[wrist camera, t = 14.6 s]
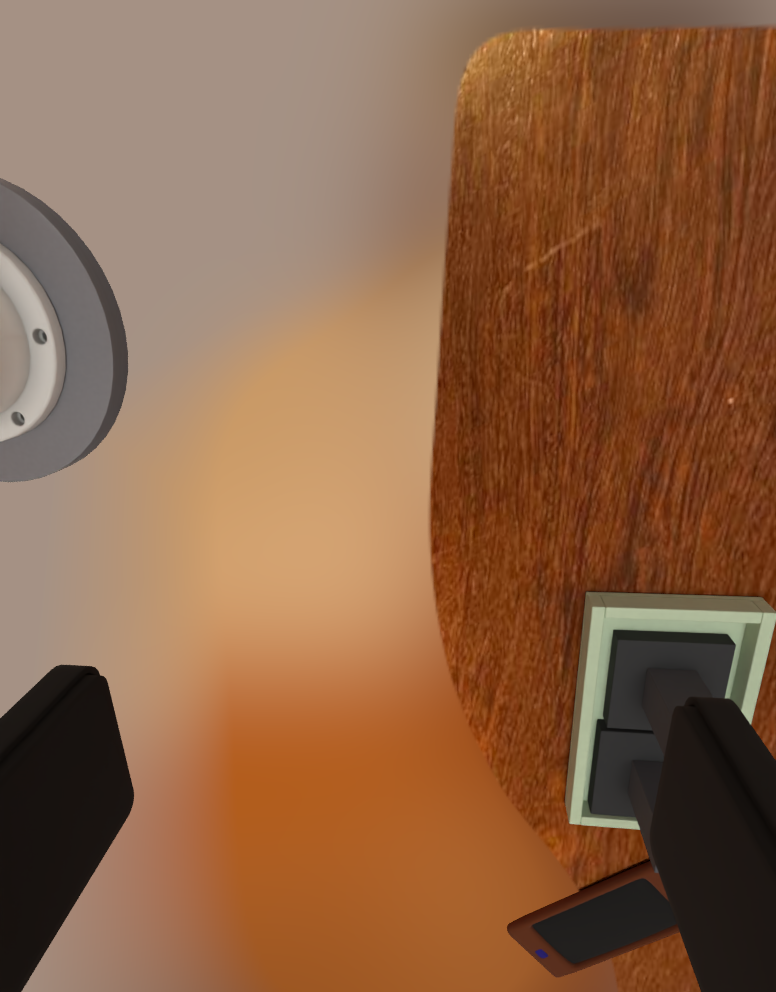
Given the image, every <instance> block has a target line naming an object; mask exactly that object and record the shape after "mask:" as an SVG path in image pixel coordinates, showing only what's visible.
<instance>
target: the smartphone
mask: <svg viewBox="0 0 776 992" xmlns="http://www.w3.org/2000/svg"><path fill="white" fill-rule="evenodd" d="M507 931H508V933H509V934H510V935H511V937H512V938H514V939H515V940H516V941H517V942H518V943H519V944H520V945H521V946H522V947H523V948H524V949H525V950H527V951H528V952H529V953H530V954H531V955H532V956H533V957H534V958H535V959H536V960H537V961H538V962H540V963H541V964H542V965H543V966H544V967H545V968H546V969H547V970H548V971H549V972H550V973H551V974H552V975H554V976H555V977H561V976H564V975H568V974H571V973H574V972H577V971H579V970H582V969H585V968H587V967H590V966H592V965H595V964H597V963H600V962H603V961H605V960H608V959H610V958H613V957H616V956H618V955H621V954H623V953H626V952H629V951H631V950H634V949H636V948H639V947H642V946H644V945H647V944H649V943H652V942H655V941H657V940H660V939H662V938H665V937H668V936H670V935H673V934H675V933H678V932H680V931H679V928H678V925H677V923H676V920H675V917H674V914H673V911H672V909H671V906H670V903H669V900H668V897H667V895H666V892H665V889H664V886H663V884H662V881H661V878H660V875H659V873H655V872H654V870H653V867H652V864H651V861H649V862H646V863H644V864H641V865H639V866H636V867H634V868H632V869H629V870H627V871H625V872H623V873H620V874H618V875H616V876H614V877H611V878H609V879H607V880H604V881H602V882H600V883H598V884H595V885H593V886H591V887H589V888H586V889H584V890H582V891H579V892H577V893H575V894H573V895H571V896H568V897H566V898H564V899H561V900H559V901H557V902H555V903H552V904H550V905H548V906H545V907H543V908H541V909H539V910H536V911H534V912H532V913H529V914H527V915H525V916H523V917H521V918H519V919H517V920H515V921H513V922H511V923H509V924H508V926H507Z"/></svg>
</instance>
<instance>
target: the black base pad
mask: <svg viewBox="0 0 776 992" xmlns="http://www.w3.org/2000/svg"><path fill="white" fill-rule="evenodd" d="M663 761H664V755H663V753H662V751H661V748H660V746H659V744H658V741H657V739H656V737H655V735H654V732H653V730H637V729H620V728H607V726H606V723H605V720H604V719H597V724H596V733H595V741H594V750H593V758H592V766H591V775H590V783H589V791H588V800H587V801H588V805H589V809H590V813H591V814H599V815H612V816H625V817H636V819H637V822H638V825H639V828H640V831H641V834H642V837H643V840H644V843H645V846H646V849H647V852H648V855H649V858H650V861H651V864H652V867H653V870H654V872H655V873H659V872H658V870H657V867H656V864H655V861H654V858H653V855H652V851H651V845H650V827H651V822H652V817H653V812H654V807H655V802H656V797H657V791H658V786H659V781H660V776H661V771H662V766H663Z"/></svg>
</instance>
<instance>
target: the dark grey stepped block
mask: <svg viewBox="0 0 776 992" xmlns="http://www.w3.org/2000/svg"><path fill="white" fill-rule="evenodd" d="M735 648H736V644H735V643H734V642H733V640H732V639H731V638H730V636H729V635H728V634H715V633H689V632H663V631H637V630H613V637H612V645H611V653H610V661H609V669H608V677H607V685H606V693H605V701H604V710H603V717H604V720H605V723H606V726H607V728H620V729H637V730H653V732H654V735H655V737H656V739H657V741H658V744H659V746H660V748H661V751H662V753H663V755H664V756H665V750H666V745H667V740H668V735H669V730H670V725H671V720H672V714H673V711H674V708H675V707H676V706H684V705H685V702H686V700H687V699H688V697H710V698H725V694H726V690H727V685H728V681H729V676H730V671H731V667H732V662H733V657H734V653H735Z"/></svg>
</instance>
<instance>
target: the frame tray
mask: <svg viewBox="0 0 776 992" xmlns="http://www.w3.org/2000/svg"><path fill="white" fill-rule="evenodd" d="M775 622H776V611H775V610H774V609H773V608H772V607H771V606H770V605H769V604H768V603H767V602H766V601H765V600H764V599H763V598H762V597H741V596H708V595H676V594H643V593H611V592H586V597H585V607H584V617H583V627H582V637H581V646H580V656H579V666H578V676H577V686H576V696H575V706H574V716H573V726H572V735H571V745H570V755H569V765H568V775H567V785H566V795H565V806H566V810H567V815H568V820H569V823H570V824H578V825H579V824H581V825H589V826H602V827H614V828H626V829H638V830H640V828H639V825H638V822H637V819H636V817H625V816H612V815H599V814H591V813H590V809H589V805H588V801H587V800H588V791H589V783H590V775H591V766H592V758H593V750H594V741H595V733H596V724H597V719H604V717H603V710H604V701H605V693H606V685H607V677H608V669H609V661H610V653H611V645H612V637H613V630H637V631H663V632H689V633H715V634H728V635H729V636H730V638H731V639H732V640H733V642H734V643H735V644H736V648H735V653H734V657H733V662H732V667H731V671H730V676H729V681H728V685H727V690H726V694H725V698H729V699H731V700H733V701H734V702H735V703H736V704H737V706H738V707H739V708H740V710H741V711H742V713H743V714H744V716H745V717H746V719H747V720H748V721H749V723H750V724H751V722H752V718H753V714H754V710H755V705H756V701H757V697H758V693H759V689H760V684H761V680H762V676H763V672H764V668H765V664H766V659H767V655H768V651H769V647H770V643H771V638H772V634H773V630H774V626H775Z"/></svg>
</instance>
